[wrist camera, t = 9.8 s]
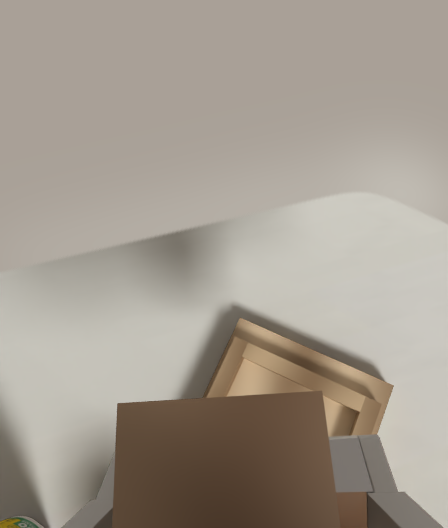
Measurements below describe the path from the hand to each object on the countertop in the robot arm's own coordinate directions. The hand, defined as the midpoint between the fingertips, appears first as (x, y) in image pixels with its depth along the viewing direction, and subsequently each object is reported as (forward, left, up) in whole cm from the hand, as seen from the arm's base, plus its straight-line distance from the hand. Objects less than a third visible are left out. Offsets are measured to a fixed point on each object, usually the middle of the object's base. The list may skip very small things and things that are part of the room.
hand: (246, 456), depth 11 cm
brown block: (0, -1, -5) cm, 5 cm away
